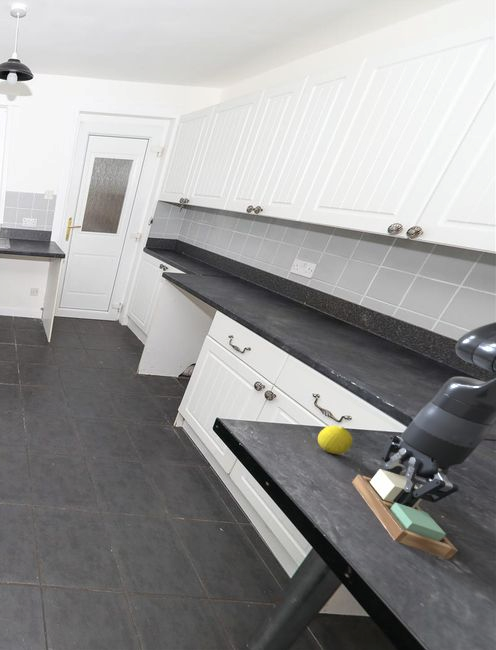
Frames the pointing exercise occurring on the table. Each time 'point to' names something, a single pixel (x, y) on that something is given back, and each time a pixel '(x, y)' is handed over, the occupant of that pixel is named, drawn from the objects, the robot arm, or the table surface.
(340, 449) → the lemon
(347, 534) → the table surface
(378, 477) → the cream pad
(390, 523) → the pad holder
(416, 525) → the sage pad
